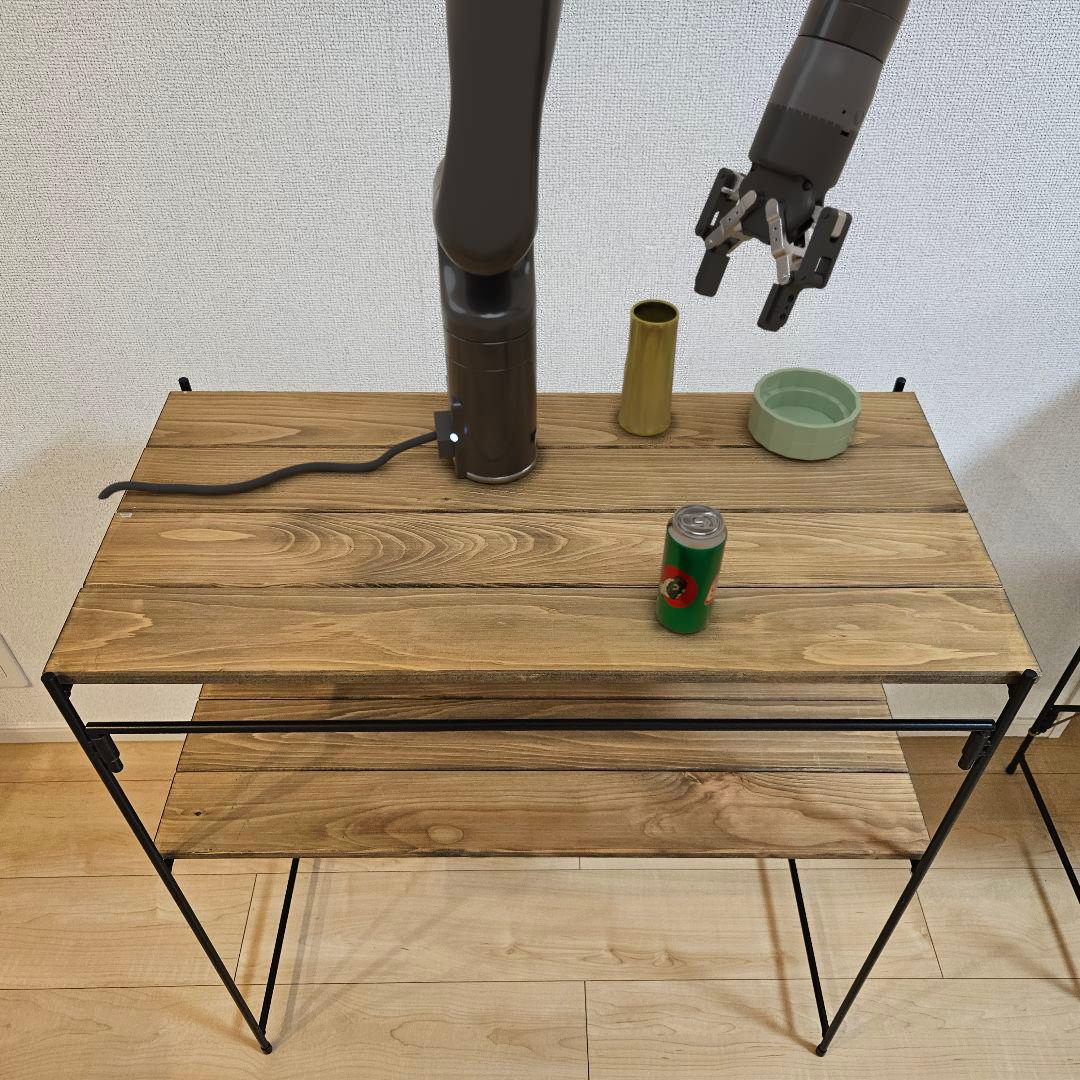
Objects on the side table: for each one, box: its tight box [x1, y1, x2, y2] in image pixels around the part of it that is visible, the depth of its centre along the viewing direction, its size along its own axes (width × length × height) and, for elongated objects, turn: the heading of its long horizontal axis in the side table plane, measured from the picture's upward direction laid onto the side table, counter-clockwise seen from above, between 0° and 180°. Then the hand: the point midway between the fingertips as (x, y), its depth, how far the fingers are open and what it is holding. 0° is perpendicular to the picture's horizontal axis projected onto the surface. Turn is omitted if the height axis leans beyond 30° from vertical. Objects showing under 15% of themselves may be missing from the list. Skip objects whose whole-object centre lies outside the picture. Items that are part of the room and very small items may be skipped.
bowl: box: [747, 366, 862, 461], centre depth 100 cm, size 12×12×5 cm
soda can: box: [655, 502, 728, 634], centre depth 78 cm, size 5×5×12 cm
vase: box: [617, 298, 680, 437], centre depth 99 cm, size 6×6×14 cm
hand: (734, 311), depth 77 cm, fingers open, 8 cm apart
